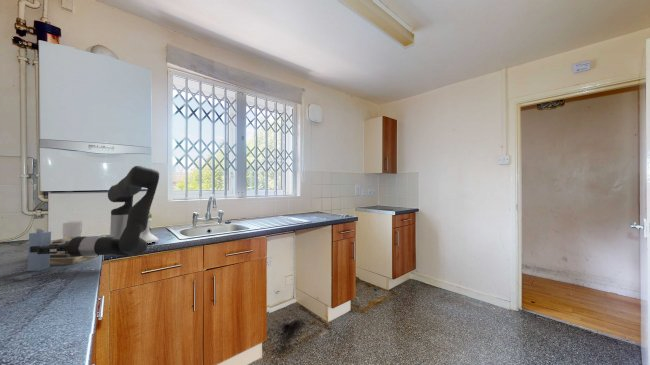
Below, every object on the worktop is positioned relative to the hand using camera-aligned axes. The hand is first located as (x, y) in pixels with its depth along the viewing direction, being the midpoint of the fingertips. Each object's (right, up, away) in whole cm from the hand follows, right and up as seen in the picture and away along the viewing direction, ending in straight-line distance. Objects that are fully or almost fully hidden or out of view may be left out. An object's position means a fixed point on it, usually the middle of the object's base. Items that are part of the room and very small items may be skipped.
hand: (42, 246), depth 98 cm
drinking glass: (-15, -10, +26) cm, 32 cm away
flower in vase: (+7, -11, +48) cm, 49 cm away
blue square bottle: (-1, -8, 0) cm, 9 cm away
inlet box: (-1, -9, +13) cm, 15 cm away
